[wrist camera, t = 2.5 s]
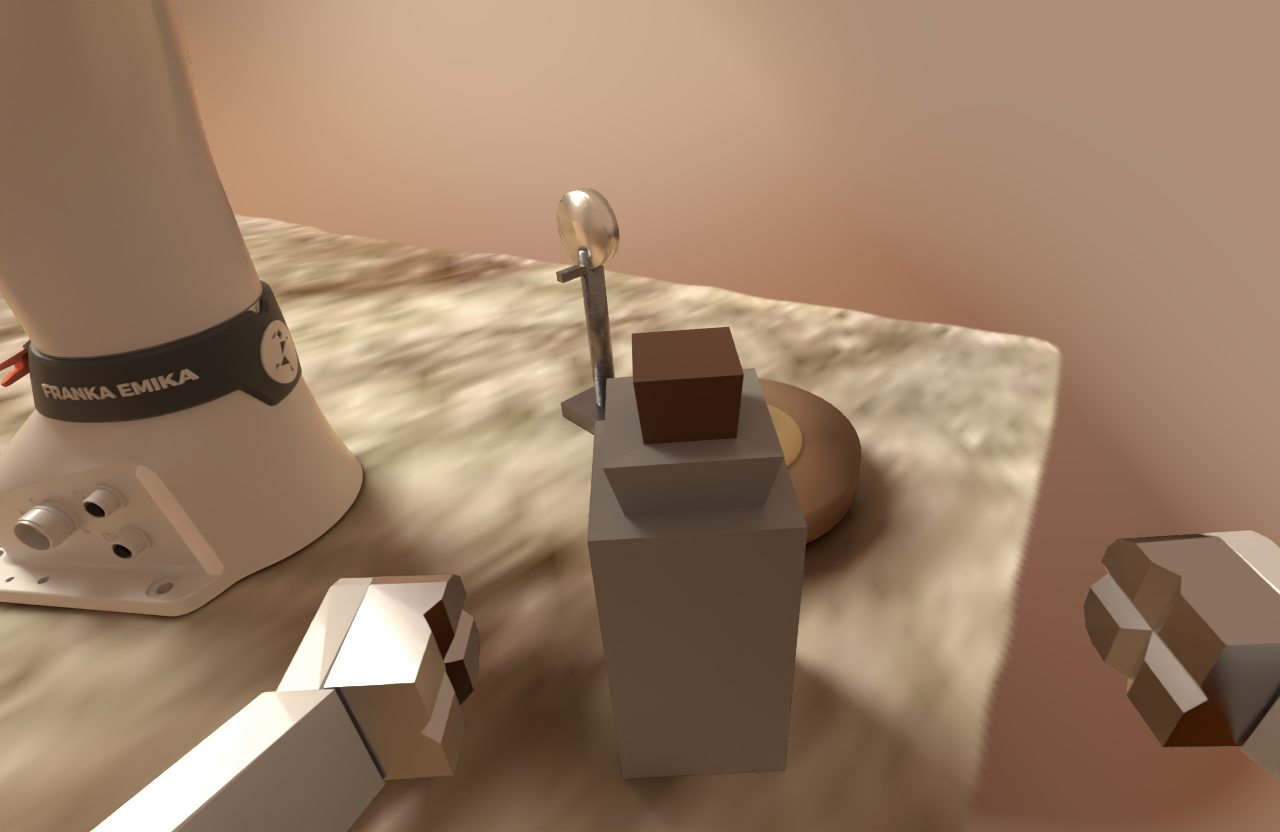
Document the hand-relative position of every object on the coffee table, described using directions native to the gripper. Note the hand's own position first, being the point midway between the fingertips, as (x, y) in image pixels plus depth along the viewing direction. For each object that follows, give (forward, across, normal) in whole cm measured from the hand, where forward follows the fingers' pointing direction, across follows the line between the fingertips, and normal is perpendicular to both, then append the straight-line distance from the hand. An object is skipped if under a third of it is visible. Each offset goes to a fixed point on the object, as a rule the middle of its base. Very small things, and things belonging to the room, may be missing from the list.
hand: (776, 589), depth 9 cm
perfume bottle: (+12, -1, -21) cm, 25 cm away
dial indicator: (+37, -6, -21) cm, 43 cm away
